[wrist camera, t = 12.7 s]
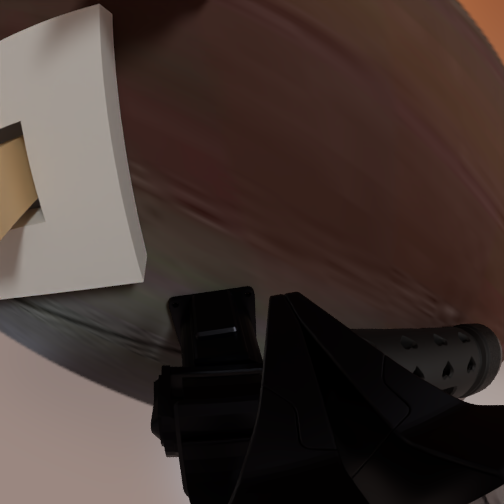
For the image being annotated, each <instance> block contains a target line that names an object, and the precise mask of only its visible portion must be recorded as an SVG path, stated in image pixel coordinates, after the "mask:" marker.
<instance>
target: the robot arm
mask: <svg viewBox="0 0 504 504" xmlns="http://www.w3.org/2000/svg"><path fill="white" fill-rule="evenodd" d="M247 292H250V293H249V294H245V293H247ZM173 303H178V304H173ZM169 308H170V311H171V315H172V319H173V322H174V326H175V329H176V333H177V336H178V340H179V343H180V346H181V352H182V367H170V366H162V375H159V379H158V380H157V381H155V382H154V406H153V412H152V419H151V431H152V433H153V434H154V435H155V436H157V437H158V438H159V439H160V440H161V444H162V446H164V447H165V453H166V456H167V457H179V462H180V469H181V475H182V483H183V489H184V492H185V494H186V495H187V496H188V497H189V500H190V503H191V504H504V405H474V404H470V403H467V402H464V401H462V400H460V399H458V398H456V397H454V396H452V395H450V394H449V393H447V392H445V391H443V390H441V389H439V388H438V387H436V386H434V385H432V384H431V383H429V382H427V381H425V380H423V379H422V378H420V377H418V376H417V375H415V374H413V373H412V372H410V371H409V370H407V369H406V368H404V367H403V366H401V365H400V364H398V363H397V362H395V361H394V360H392V359H391V358H390V357H388V356H387V355H385V356H384V353H383V352H381V351H380V350H378V349H377V348H376V347H374V346H373V345H371V344H370V343H369V342H367V341H366V340H364V339H363V338H362V337H360V336H359V335H357V334H356V333H355V332H353V331H352V330H351V329H349V328H348V327H346V326H345V325H344V324H342V323H341V322H339V321H338V320H337V319H335V318H334V317H333V316H331V315H330V314H328V313H327V312H326V311H324V310H323V309H321V308H320V307H319V306H317V305H316V304H315V303H313V302H312V301H310V300H309V299H308V298H306V297H305V296H303V295H302V294H301V293H299V292H292V293H286V294H285V295H282V294H280V295H274V296H270V298H269V308H268V319H267V329H266V339H265V350H264V359H263V360H262V356H261V353H260V349H259V346H258V342H257V339H256V318H255V294H254V290H253V288H252V287H250V286H246V287H239V288H233V289H226V290H219V291H212V292H205V293H198V294H191V295H183V296H176V297H172V298H170V300H169Z"/></svg>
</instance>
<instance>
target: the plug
mask: <svg viewBox="0 0 504 504" xmlns="http://www.w3.org/2000/svg"><path fill="white" fill-rule="evenodd" d="M37 199H38V195H37V191H36V188H35V184H34V180H33V176H32V173H31V168H30V164H29V160H28V156H27V151H26V146H25V141H24V136H23V135H21V136H19V137H16V138H14V139H11V140H9V141H6V142H4V143H2V144H0V241H1V239H2V238H3V237H4V236H5V235H6V233H7V232H8V231H9V230H10V229H11V227H12V226H13V225H14V224H15V223H16V222H17V220H18V219H19V218H20V217H21V216H22V215H23V214H24V213H25V211H26V210H27V209H28V208H29V207H30V206H31V205H32V204H33V203H34V202H35V201H36V200H37Z"/></svg>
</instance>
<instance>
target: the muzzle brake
mask: <svg viewBox="0 0 504 504" xmlns="http://www.w3.org/2000/svg"><path fill="white" fill-rule="evenodd" d="M351 330H352V331H353V332H355V333H356V334H357V335H359V336H360V337H362V338H363V339H364V340H366V341H367V342H369V343H370V344H371V345H373V346H374V347H376V348H377V349H378V350H380V351H381V352H383V353H384V356H385V355H387V356H388V357H390V358H391V359H392V360H394V361H395V362H397V363H398V364H400V365H401V366H403V367H404V368H406V369H407V370H409V371H410V372H412V373H413V374H415V375H417V376H418V377H420V378H422V379H423V380H425V381H427V382H429V383H431V384H432V385H434V386H436V387H438V388H439V389H441V390H443V391H445V392H447V393H449V394H450V395H452V396H454V397H456V398H464V397H468V396H470V395H473V394H475V393H477V392H480V391H481V390H483V389H485V388H486V387H487V386H488V385H490V384H491V382H492V381H493V380H494V378H495V376H496V375H497V373H498V371H499V369H500V366H501V363H502V348H501V344H500V342H499V340H498V338H497V336H496V335H495V334H494V333H493V332H492V331H491V330H490V329H489V328H488V327H486V326H484V325H481V324H460V325H456V326H454V327H445V328H420V329H411V328H410V329H351Z"/></svg>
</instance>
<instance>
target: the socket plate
mask: <svg viewBox="0 0 504 504" xmlns="http://www.w3.org/2000/svg"><path fill="white" fill-rule="evenodd" d="M21 135H23V136H24V141H25V146H26V151H27V156H28V160H29V164H30V168H31V173H32V176H33V180H34V184H35V188H36V191H37V195H38V199H37V200H36V201H35V202H34V203H33V204H32V205H31V206H30V207H29V208H28V209H27V210H26V211H25V213H24V214H23V215H22V216H21V217H20V218H19V219H18V220H17V222H16V223H15V224H14V225H13V226H12V227H11V229H10V230H9V231H8V232H7V233H6V235H5V236H4V237H3V238H2V239H1V241H0V300H1V299H9V298H18V297H27V296H35V295H44V294H52V293H61V292H69V291H77V290H85V289H93V288H101V287H109V286H116V285H124V284H132V283H140V282H144V274H145V267H146V260H147V253H146V249H145V245H144V240H143V236H142V232H141V227H140V223H139V218H138V214H137V209H136V204H135V199H134V194H133V189H132V184H131V178H130V173H129V167H128V161H127V156H126V149H125V143H124V136H123V129H122V122H121V115H120V107H119V98H118V89H117V79H116V68H115V55H114V40H113V17H112V13H110V12H109V11H108V10H107V9H105V8H104V7H103V6H101V5H100V4H97V5H93V6H89V7H86V8H83V9H79V10H76V11H73V12H70V13H67V14H64V15H61V16H58V17H55V18H52V19H50V20H47V21H44V22H42V23H39V24H37V25H34V26H32V27H29V28H27V29H25V30H22V31H20V32H18V33H16V34H14V35H11V36H9V37H7V38H5V39H3V40H1V41H0V144H2V143H4V142H6V141H9V140H11V139H14V138H16V137H19V136H21Z"/></svg>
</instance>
